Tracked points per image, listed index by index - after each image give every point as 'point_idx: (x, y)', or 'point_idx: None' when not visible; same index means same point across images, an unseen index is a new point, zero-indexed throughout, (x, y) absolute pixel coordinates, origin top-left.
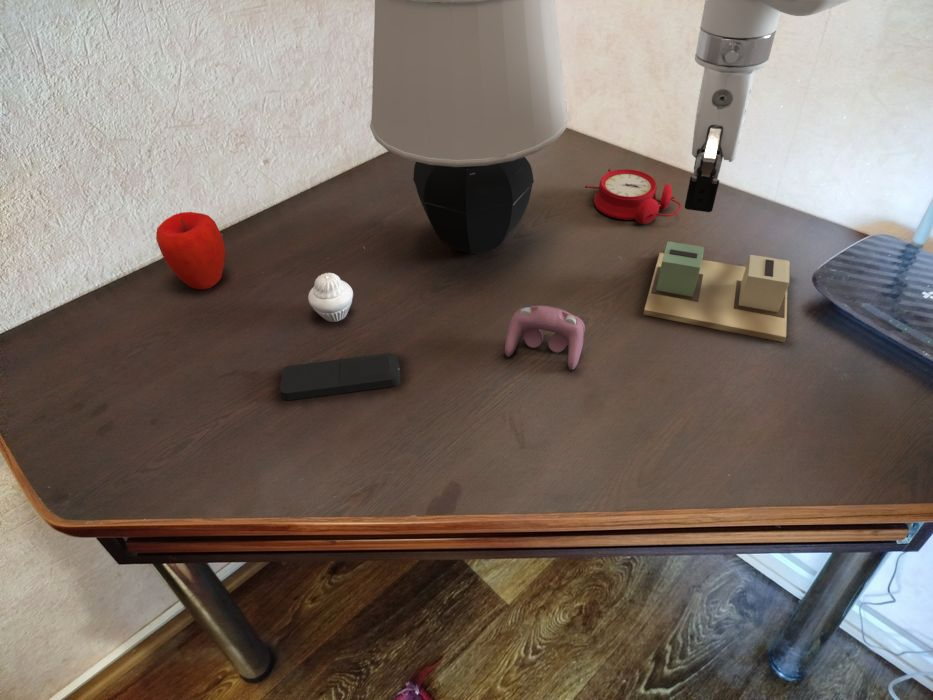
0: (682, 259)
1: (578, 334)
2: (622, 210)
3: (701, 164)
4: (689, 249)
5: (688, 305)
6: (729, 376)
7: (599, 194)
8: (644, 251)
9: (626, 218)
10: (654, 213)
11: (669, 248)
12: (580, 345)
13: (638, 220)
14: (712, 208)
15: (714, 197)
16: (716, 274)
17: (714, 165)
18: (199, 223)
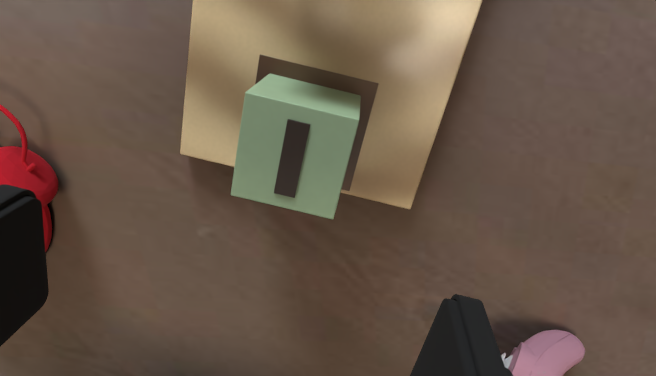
0: (319, 165)
1: (558, 373)
2: None
3: (13, 305)
4: (265, 139)
5: (394, 109)
6: (639, 34)
7: None
8: (166, 177)
9: (47, 212)
10: (24, 162)
11: (267, 193)
12: (563, 354)
13: (56, 193)
14: (483, 310)
15: (503, 370)
16: (252, 15)
17: (3, 245)
18: None
